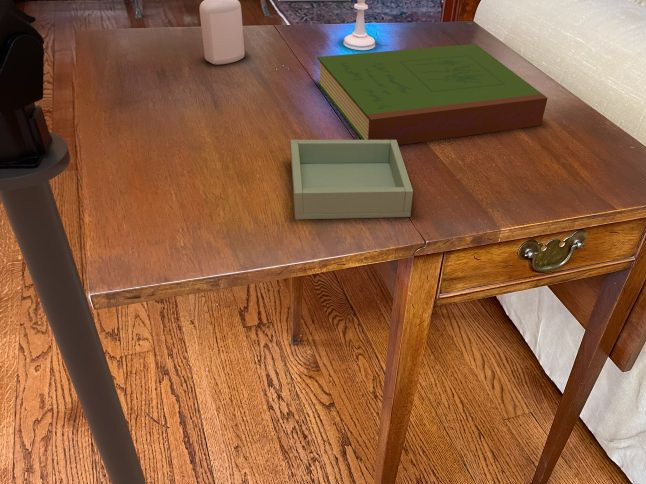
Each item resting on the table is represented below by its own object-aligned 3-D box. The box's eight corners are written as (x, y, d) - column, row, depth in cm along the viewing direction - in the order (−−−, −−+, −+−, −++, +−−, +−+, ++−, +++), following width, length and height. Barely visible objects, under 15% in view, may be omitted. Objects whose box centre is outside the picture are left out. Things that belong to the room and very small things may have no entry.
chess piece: (377, 40, 101) (381, -28, 95) (372, 52, 97) (376, -19, 91) (346, 37, 101) (348, -32, 95) (341, 48, 98) (342, -23, 91)
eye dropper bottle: (247, 64, 90) (240, -28, 82) (206, 65, 88) (195, -28, 81) (243, 52, 93) (236, -38, 85) (203, 53, 92) (193, -38, 84)
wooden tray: (295, 219, 63) (294, 192, 61) (291, 165, 71) (290, 139, 68) (410, 217, 65) (413, 191, 63) (394, 164, 73) (396, 139, 70)
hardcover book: (369, 149, 75) (370, 119, 72) (317, 84, 87) (317, 56, 85) (545, 124, 84) (552, 97, 81) (476, 68, 96) (480, 43, 93)
